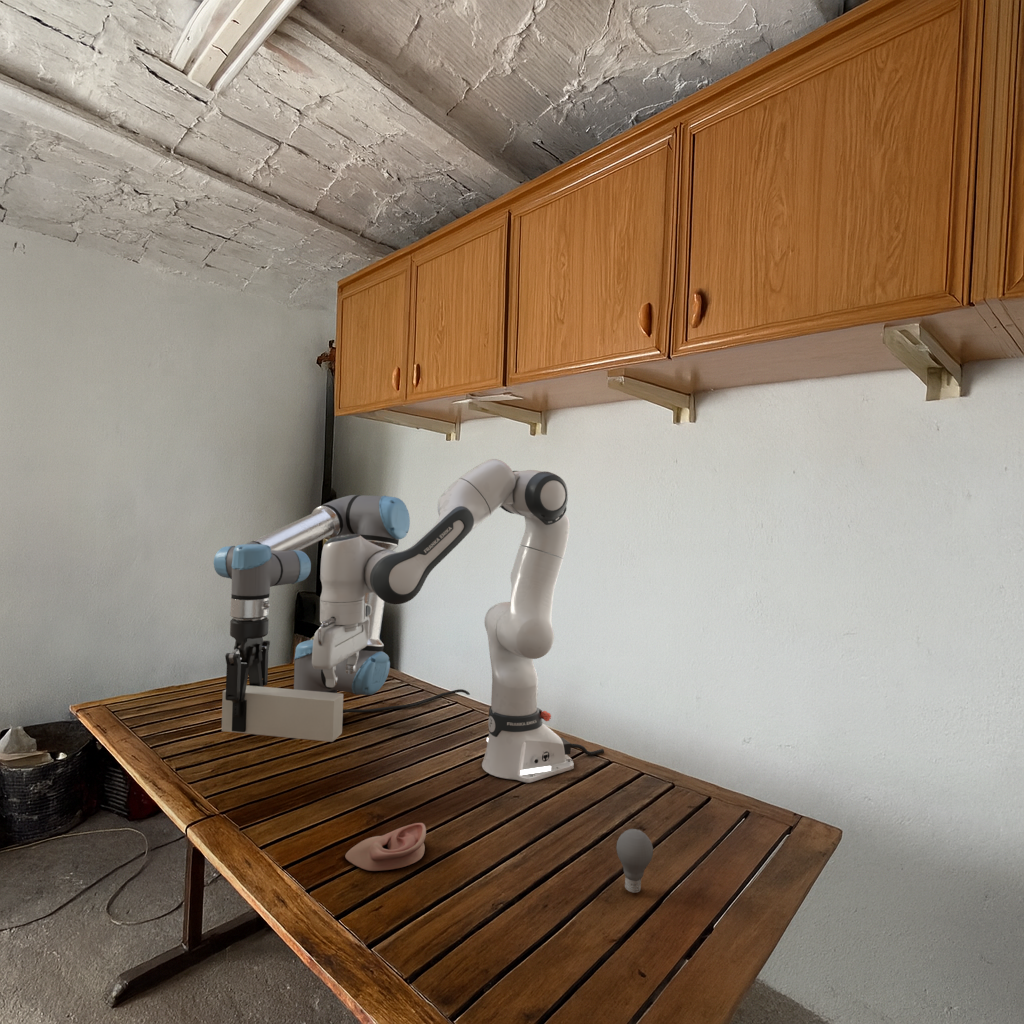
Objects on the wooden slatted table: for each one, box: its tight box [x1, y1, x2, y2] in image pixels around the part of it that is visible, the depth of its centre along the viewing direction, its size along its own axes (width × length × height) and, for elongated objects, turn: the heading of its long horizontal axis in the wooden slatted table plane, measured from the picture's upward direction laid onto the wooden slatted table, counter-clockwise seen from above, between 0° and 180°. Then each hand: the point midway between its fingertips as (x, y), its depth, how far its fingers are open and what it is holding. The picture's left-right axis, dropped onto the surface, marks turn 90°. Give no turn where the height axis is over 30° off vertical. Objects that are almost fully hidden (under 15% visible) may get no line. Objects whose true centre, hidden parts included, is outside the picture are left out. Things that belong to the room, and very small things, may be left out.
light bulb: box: [615, 828, 654, 894], centre depth 106 cm, size 6×6×10 cm
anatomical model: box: [344, 822, 427, 872], centre depth 113 cm, size 13×4×12 cm
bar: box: [221, 684, 344, 743], centre depth 134 cm, size 25×5×8 cm, turn 82°
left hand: (246, 726), depth 135 cm, fingers closed on bar, 5 cm apart
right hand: (341, 679), depth 131 cm, fingers open, 8 cm apart
